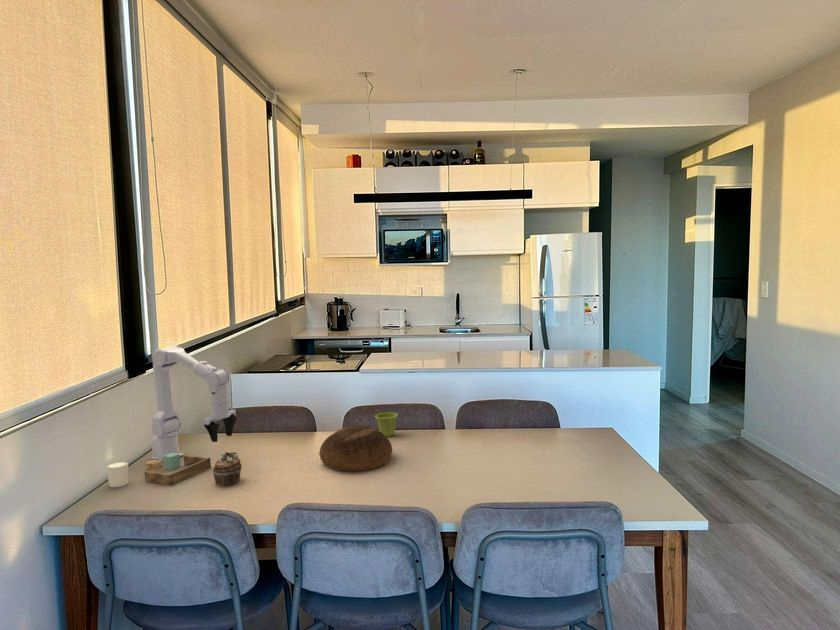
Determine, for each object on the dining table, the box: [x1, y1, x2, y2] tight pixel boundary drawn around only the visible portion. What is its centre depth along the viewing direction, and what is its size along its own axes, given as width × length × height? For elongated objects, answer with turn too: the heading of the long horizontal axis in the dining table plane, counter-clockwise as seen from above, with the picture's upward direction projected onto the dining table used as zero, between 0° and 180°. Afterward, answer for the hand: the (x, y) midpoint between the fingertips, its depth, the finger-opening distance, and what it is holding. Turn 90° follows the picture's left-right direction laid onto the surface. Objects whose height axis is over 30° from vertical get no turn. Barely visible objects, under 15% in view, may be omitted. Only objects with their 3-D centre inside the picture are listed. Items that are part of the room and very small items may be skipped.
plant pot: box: [375, 412, 399, 438], centre depth 254 cm, size 9×9×9 cm
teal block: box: [162, 453, 181, 471], centre depth 223 cm, size 4×4×5 cm
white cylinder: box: [105, 461, 129, 488], centre depth 207 cm, size 7×7×7 cm
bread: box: [318, 424, 393, 472], centre depth 222 cm, size 26×27×13 cm
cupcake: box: [211, 451, 242, 487], centre depth 205 cm, size 10×10×10 cm
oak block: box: [144, 459, 164, 473], centre depth 215 cm, size 4×4×5 cm
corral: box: [144, 454, 212, 486], centre depth 215 cm, size 12×19×4 cm, turn 156°
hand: (221, 438), depth 223 cm, fingers open, 7 cm apart
